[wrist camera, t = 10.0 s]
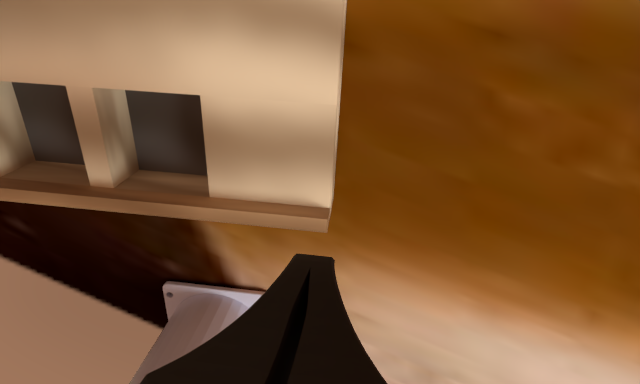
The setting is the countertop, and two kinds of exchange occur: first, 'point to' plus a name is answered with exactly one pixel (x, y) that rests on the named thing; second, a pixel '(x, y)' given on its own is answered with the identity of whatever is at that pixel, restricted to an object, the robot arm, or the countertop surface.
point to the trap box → (173, 107)
